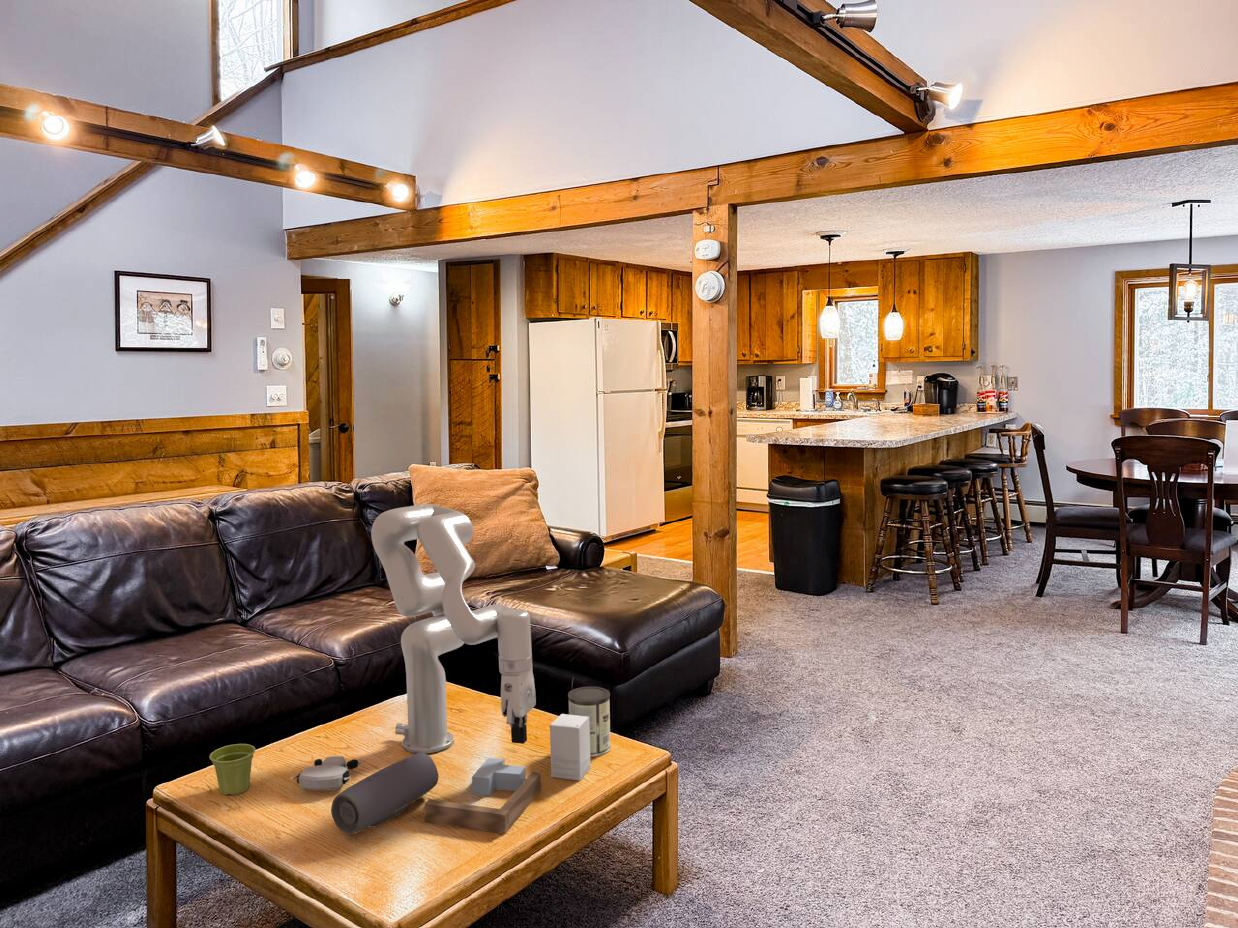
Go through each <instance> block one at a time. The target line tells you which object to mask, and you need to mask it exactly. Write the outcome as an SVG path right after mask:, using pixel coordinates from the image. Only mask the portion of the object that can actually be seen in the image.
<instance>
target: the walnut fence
mask: <svg viewBox="0 0 1238 928" xmlns="http://www.w3.org/2000/svg"><path fill="white" fill-rule="evenodd" d="M541 791H542V772H538V771H532V772H530V774H529V775H528V776H526V780H525V781H524V782H523V783H522V784H521V785H520V787H519V788H518V789H517V790H516V791H513V793H512V794H511V796H510V797H509V798H508V799H507V800H506V801H505V803H504V804H503V805H502V806H501V807H500V808H495V807H487V806H482V805H481V806H480V805H473V804H465V803H459V802H452V801H443V800H438V799H428V800H426V802H425V803H424V823H428V824H429V823H430V824H436V825H442V826H451V827H456V828H463V829H470V830H475V831H476V830H477V831H484V832H491V833H498V834H507V833H508V831H509V830H510V829H511V828H512V827H513V825H514V824H515V823H516V822H517V820H518V819H519V818H520V817H521V815H522V814H523V813H524V812H525V810H526V809H527V808H528V807H529V806H530V805H531V804H532V802H533V800H534V799H535V798H536V797H537V796H538V794H540V792H541Z"/></svg>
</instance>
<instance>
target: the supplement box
mask: <svg viewBox="0 0 1238 928" xmlns="http://www.w3.org/2000/svg"><path fill="white" fill-rule="evenodd" d="M549 734H550V737H549V738H550V744H549V745H550V766H551V767H550V768H551V769H550V773H551V775H550V776H551V778H557V779H565V780H572V781H577V782H580V781H581V780H582V779H583V778H584V777H585V776H586V775H587V773H588V772H589V771H590V770H591V757H590V723H589V717H586V716H577V715H569V713H568V714H565V713H561V714H560V715H559V716H558V717H556V719H554V720H553V721H552V722H551V723H550V724H549Z"/></svg>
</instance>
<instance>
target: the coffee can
mask: <svg viewBox="0 0 1238 928" xmlns="http://www.w3.org/2000/svg"><path fill="white" fill-rule="evenodd" d="M610 697H611V693H610V690H609V689H606V688H603V687H601V686H582V687H580V686H579V687H577V688H573V689H572V690H570V691H569V692H568V694H567V698H568V715H577V716H586V717H589V723H590V758H594V757H600V756H603V755H605V754H608V753H609V752H610V750H611V718H610V717H611V714H610V713H611V711H610V709H611V707H610V705H611V703H610Z"/></svg>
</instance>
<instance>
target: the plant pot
mask: <svg viewBox="0 0 1238 928" xmlns="http://www.w3.org/2000/svg"><path fill="white" fill-rule="evenodd" d="M255 752H256V747H255V746H253V745H251V744H247V743H237V744H236V743H235V744H230V745H229V744H228V745H225V746H223V747H220V748H217V749H214V751H212V752H211V753H210V754H209V761H211V763H212V764H213V766H214V770H215V775H216V779H217V783H218V787H219V792H220V794H221V795H224V796H226V795H233V796H234V795H238V794H242V793H244V792H245V791H247V790H248V789H249V788H250V785H251V784H250V783H251V774H252V773H251V772H252V762H253V759H254V754H255Z"/></svg>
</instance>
